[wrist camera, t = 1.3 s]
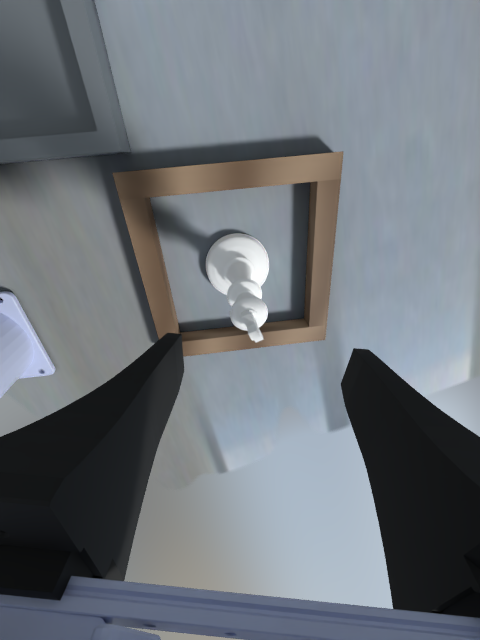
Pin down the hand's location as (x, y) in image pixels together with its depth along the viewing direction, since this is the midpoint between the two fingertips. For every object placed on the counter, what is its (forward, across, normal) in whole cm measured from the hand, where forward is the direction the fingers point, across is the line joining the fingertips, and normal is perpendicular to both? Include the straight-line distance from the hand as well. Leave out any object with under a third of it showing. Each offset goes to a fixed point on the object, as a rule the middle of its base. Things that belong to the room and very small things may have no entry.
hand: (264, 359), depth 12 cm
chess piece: (+11, +2, 0) cm, 12 cm away
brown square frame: (+11, +2, 0) cm, 11 cm away
